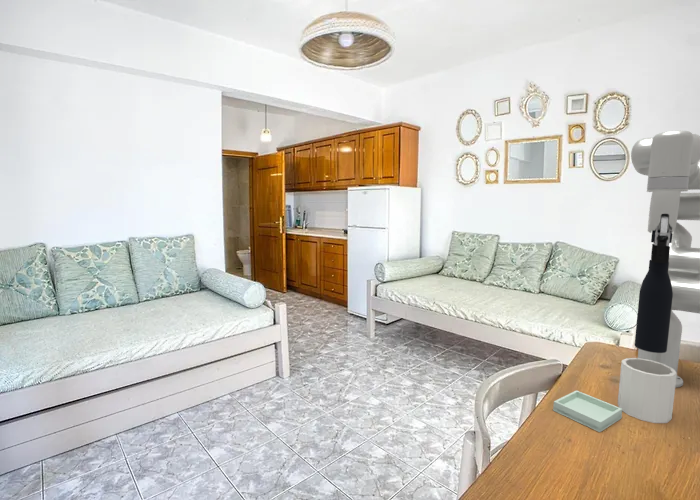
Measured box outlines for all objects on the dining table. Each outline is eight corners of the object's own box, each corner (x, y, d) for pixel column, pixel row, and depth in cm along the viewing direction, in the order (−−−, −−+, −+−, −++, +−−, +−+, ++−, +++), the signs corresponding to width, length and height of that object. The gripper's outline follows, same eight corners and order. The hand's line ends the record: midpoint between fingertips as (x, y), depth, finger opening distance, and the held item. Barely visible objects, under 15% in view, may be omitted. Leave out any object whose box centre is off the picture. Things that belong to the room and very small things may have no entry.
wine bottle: (672, 354, 91) (686, 230, 87) (642, 352, 92) (655, 229, 89) (657, 344, 97) (669, 228, 94) (629, 342, 99) (640, 228, 95)
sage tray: (575, 398, 103) (576, 390, 102) (621, 418, 94) (622, 408, 93) (553, 410, 97) (553, 401, 97) (599, 432, 88) (600, 422, 87)
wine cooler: (628, 396, 104) (633, 355, 103) (677, 414, 95) (682, 369, 94) (610, 407, 98) (614, 363, 97) (660, 427, 90) (665, 379, 88)
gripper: (646, 187, 99) (640, 256, 101) (647, 184, 86) (639, 264, 88) (685, 186, 94) (677, 258, 96) (691, 183, 81) (682, 267, 83)
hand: (659, 260), depth 92 cm, fingers closed on wine bottle, 3 cm apart
